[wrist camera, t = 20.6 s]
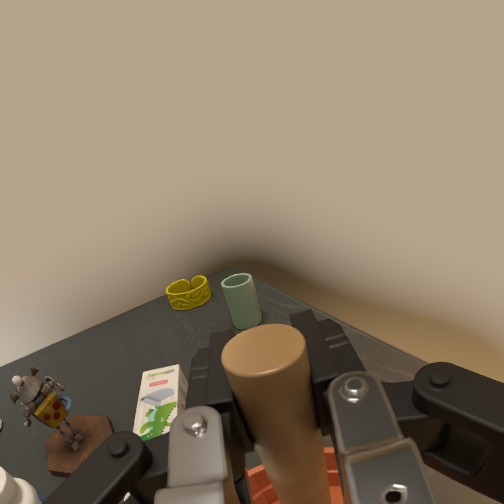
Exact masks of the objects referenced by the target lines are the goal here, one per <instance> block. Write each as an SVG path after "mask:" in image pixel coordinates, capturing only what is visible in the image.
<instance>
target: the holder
mask: <svg viewBox="0 0 504 504" xmlns="http://www.w3.org/2000/svg"><path fill="white" fill-rule="evenodd" d="M221 286H222V289H223V292H224V296H225V299H226V302H227V305H228V309H229V312H230V315H231V318H232V322H233V324H234V327H235V328H237V329H242V330H244V329H250V328H253V327H255V326H257V325H258V324H259V323H260V322H261V321H262V314H261V310H260V307H259V303H258V299H257V295H256V291H255V287H254V283H253V279H252V277H251V275H250V274H246V273H242V274H236V275H232V276H229V277H228V278H226V279H224V280H223V281H222V283H221Z"/></svg>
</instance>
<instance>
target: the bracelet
mask: <svg viewBox="0 0 504 504" xmlns="http://www.w3.org/2000/svg"><path fill="white" fill-rule="evenodd" d="M191 285H192V287H193V288H194V290H192V291H190V290H191ZM191 285H190V283H189V282H188V281H187V280H184V279H182V280H178V281H176V282H174V283H172V284H171V285H169V287H168V288H167V289H166V293H167V296H168V299H169V301H170V304H171V306H172V308H173V309H176V310H186V309H191V308H195V307H197V306H200V305H202V304H204V303H205V302H207V301H208V300H209V299H210V297H211V291H210V288H209V285H208V282H207V279H206V277H203V276H195V277H194V278H193V279H192V281H191Z"/></svg>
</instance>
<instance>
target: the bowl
mask: <svg viewBox="0 0 504 504" xmlns="http://www.w3.org/2000/svg"><path fill="white" fill-rule="evenodd" d="M324 453H325V460H326V467H327V474H328V481H329V488H330V495H331V502H332V504H344V503H343V498H342V492H341V486H340V481H339V476H338V470H337V465H336V460H335V455H334V447H324ZM248 476H249V481H250V487H251V492H252V497H253V502H254V504H281V503H280V501H279V499H278V497H277V495H276V493H275V491H274V488H273V486H272V484H271V482H270V480H269V477H268V475H267V473H266V471H265V468H264V466H263V464H261V465H259V466H257V467H255V468H253V469H250V470H248Z"/></svg>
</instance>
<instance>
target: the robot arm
mask: <svg viewBox="0 0 504 504" xmlns="http://www.w3.org/2000/svg"><path fill="white" fill-rule="evenodd" d="M290 319H291V324H292V327H293V328H295V329H297V330H298V331H299V332H300V333H301V334H302V335H303V337H304V338H305V341H306V347H307V352H308V358H309V363H310V375H311V381H312V386H313V392H314V398H315V404H316V409H317V415H318V421H319V427H320V431H321V434H322V436H326V435H329V434H330V436H331V439H332V442H333V446H334V455H335V460H336V465H337V470H338V476H339V481H340V486H341V492H342V498H343V503H344V504H439V501H438V499H437V496H436V493H435V491H434V488H433V485H432V483H431V480H430V478H429V475H428V472H427V470H426V467H425V465H427V466H429V467H431V468H433V469H434V470H436V471H438V472H440V473H442V474H444V475H446V476H447V477H449V478H451V479H453V480H455V481H457V482H459V483H461V484H463V485H465V486H467V487H469V488H471V489H473V490H475V491H477V492H479V493H481V494H483V495H485V496H488V497H490V498H492V499H494V500H496V501H498V502H501V503H503V504H504V383H502V382H499V381H496V380H493V379H491V378H488V377H485V376H483V375H480V374H477V373H475V372H472V371H470V370H467V369H464V368H462V367H459V366H456V365H454V364H451V363H447V362H436V363H431V364H428V365H426V366H424V367H422V368H421V369H420V370H419V371H418V372H417V373H416V375H415V378H414V381H406V382H397V383H387V382H382V381H380V380H379V379H378V378H377V377H376V376H375V375H373V374H371V373H368V372H367V371H366V370H365V368H364V366H363V364H362V363H361V361H360V359H359V357H358V355H357V354H356V352H355V350H354V348H353V347H352V345H351V343H350V341H349V340H348V338H347V336H346V335H345V333H344V331H343V329H342V327H341V326H340V324H338V323H336V322H335V321H333V320H331V319H330V318H329V319H325V320H322V321H318V322H317V320H316V318H315V316H314V314H313V312H312V310H311V309H307V310H303V311H299V312H295V313H291V314H290ZM235 336H236V334H235V332H234V329H233V328H227V329H222V330H218V331H213V332H211V337H210V347H207V348H202V349H199V350H198V352H197V353H196V354H195V356H194V357H193V359H192V363H191V372H190V376H189V379H190V380H189V383H188V390H187V396H186V403H185V410H184V411H182V412H181V413H179V414H178V415H177V416H176V417H175V418H174V419H173V421H172V423H171V425H170V431H169V432H167V433H165V434H163V435H160V436H157V437H154V438H151V439H148V440H145V441H143V440H142V439H141V438H140V436H139V435H137V434H136V433H133V432H129V431H123V432H118V433H115V434H113V435H111V436H109V437H108V438H106V439H105V440H104V441H103V442H102V443H101V444H100V445H99V446H98V447H97V448H96V449H95V450H94V451H93V452H92V454H91V455H90V456H89V457H88V458H87V459H86V460H85V461H84V462H83V463H82V464H81V465H80V466H79V467H78V468H77V469H76V470H75V471H74V472H73V473H72V474H71V475H70V476H69V477H68V478H67V479H66V480H65V481H64V482H63V483H62V484H61V485H60V486H59V487H58V488H57V489H56V490H55V491H54V492H53V493H52V494H51V495H50V496H49V497H48V498H47V499H46V500H45V501H44V502H43V503H42V504H118V503H119V502H120V501H121V500H122V499H123V497H124V496H125V495H126V494H127V493H129V494H130V495H129V497H128V498H127V499H126V500H125V501H124V502H123V504H254V502H253V497H252V492H251V487H250V481H249V476H248V471H247V469H246V462H245V453H248V452H254V442H253V440H252V438H251V435H250V433H249V431H248V428H247V426H246V423H245V421H244V418H243V416H242V413H241V411H240V408H239V406H238V403H237V401H236V398H235V396H234V393H233V391H232V389H231V386H230V384H229V381H228V378H227V376H226V373H225V370H224V368H223V365H222V362H221V355H222V351H223V349H224V347H225V345H226V344H227V343H228V342H229V341H230V340H231V339H232V338H233V337H235ZM424 464H425V465H424Z"/></svg>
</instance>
